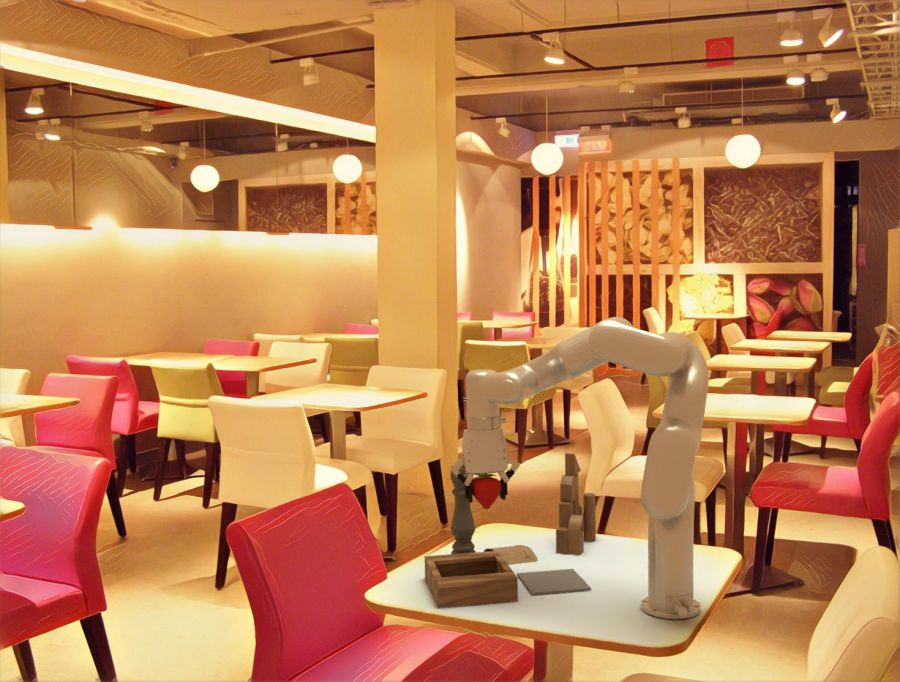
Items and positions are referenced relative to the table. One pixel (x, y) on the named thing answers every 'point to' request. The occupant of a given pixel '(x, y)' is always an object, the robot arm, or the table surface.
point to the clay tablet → (516, 554)
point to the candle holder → (461, 518)
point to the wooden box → (470, 579)
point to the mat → (553, 582)
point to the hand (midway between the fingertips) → (486, 499)
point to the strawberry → (486, 489)
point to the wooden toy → (574, 512)
